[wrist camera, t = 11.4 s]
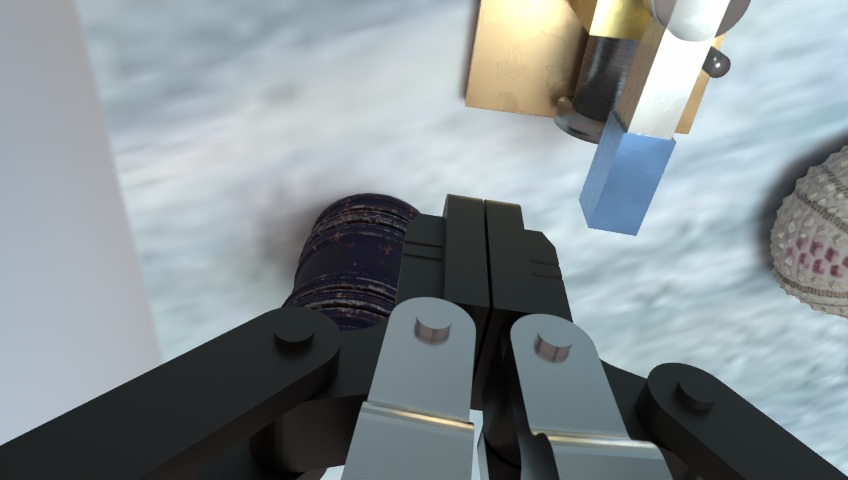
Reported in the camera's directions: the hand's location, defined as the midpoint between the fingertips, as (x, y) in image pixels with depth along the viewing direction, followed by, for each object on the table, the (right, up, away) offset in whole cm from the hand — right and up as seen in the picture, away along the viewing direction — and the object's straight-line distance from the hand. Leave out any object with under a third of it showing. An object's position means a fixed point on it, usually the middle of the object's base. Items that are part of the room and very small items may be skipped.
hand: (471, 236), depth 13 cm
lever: (+9, +7, +16) cm, 20 cm away
